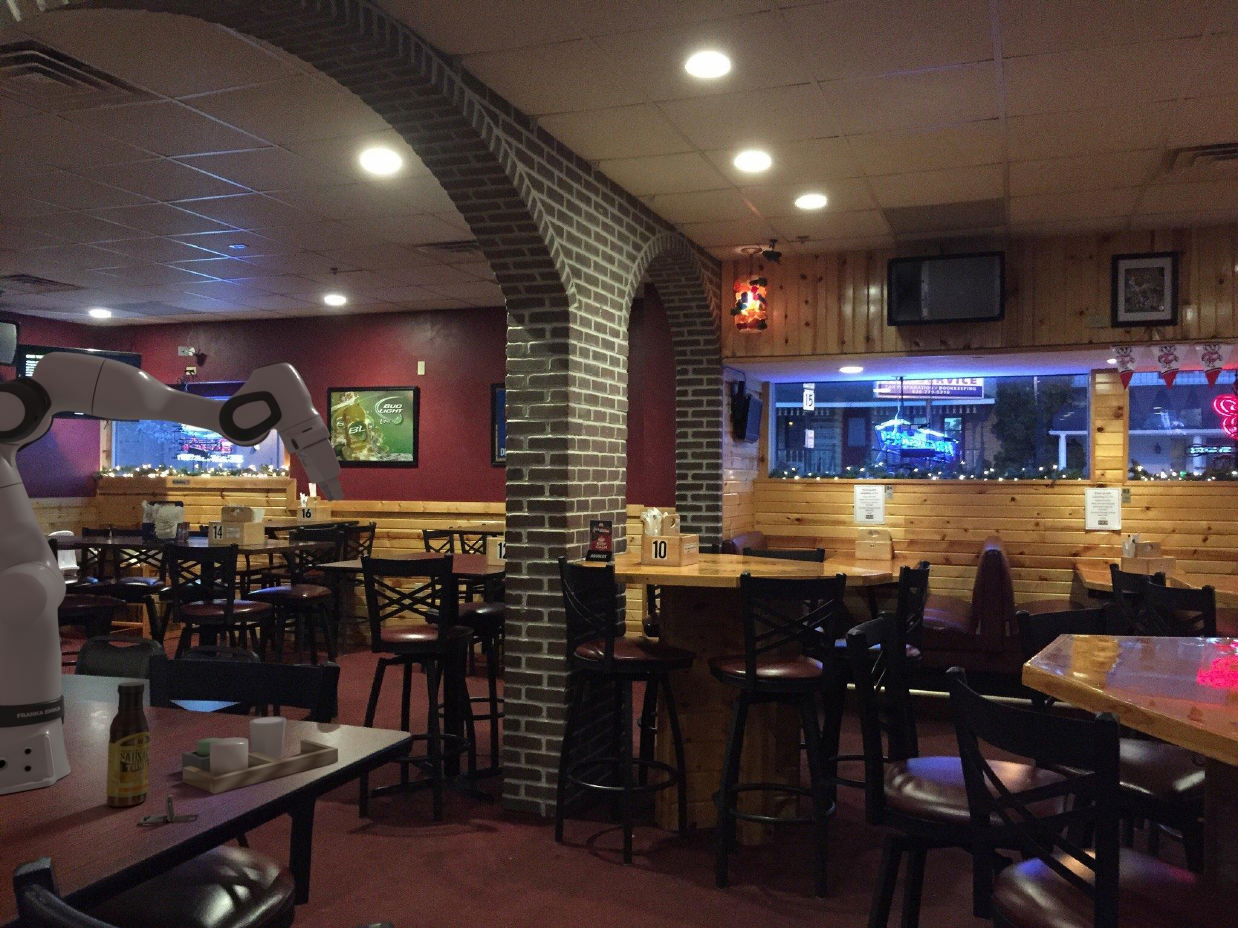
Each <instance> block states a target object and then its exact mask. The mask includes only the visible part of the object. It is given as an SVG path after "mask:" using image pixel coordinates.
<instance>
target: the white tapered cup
mask: <svg viewBox="0 0 1238 928" xmlns="http://www.w3.org/2000/svg"><path fill="white" fill-rule="evenodd" d="M286 723H287V718H286V717H284V716H278V715H277V716H275V715H273V716H272V715H271V716H262V717H256V718H254V719H251V720H249V732H250V742H251V752H253V751H255V752H259V753H262V754H265V755H268V756H272V757H275V758H277V757H278V758H280V757H282V756H283V755H284V745H285V736H286V735H285V734H286V727H287V726H286V725H287V724H286Z"/></svg>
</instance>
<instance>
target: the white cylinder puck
mask: <svg viewBox="0 0 1238 928" xmlns="http://www.w3.org/2000/svg"><path fill="white" fill-rule="evenodd" d="M248 752H249V739H248V738H245V737H236V736H235V737H226V738H225V737H224V738H221V739H219V740H215V741H213V742H211V743H210V773H212V774H215V775H218V776H219V775H223V774H227V773H231V772H235V771H239V770H243V769H247V768H248Z"/></svg>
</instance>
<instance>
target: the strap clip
mask: <svg viewBox="0 0 1238 928" xmlns="http://www.w3.org/2000/svg"><path fill="white" fill-rule="evenodd" d="M174 810H175V809H174V804H173V794H168V796H167V797H166V799H165V811H166V813H162V814H150V815H145V816H142V817H141V818H140V820H139V822H138V826H139V825H143V824H158V825H162V824H161V823H163V824H166V823H165V821H166V820H167V821H166V822H169V823H171V822H172V823H171V824H181V822H184V823H192V822H193V821H194V822H197V821H198V819H199V816H200V814H187V815H185V814H184V815H175V812H174ZM191 817H195V818H194V819H191ZM167 818H168V819H167ZM147 819H149V820H147ZM143 820H146V821H143ZM179 822H180V823H179Z"/></svg>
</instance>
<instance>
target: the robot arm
mask: <svg viewBox="0 0 1238 928" xmlns="http://www.w3.org/2000/svg"><path fill="white" fill-rule="evenodd" d="M60 412H74V413H75V412H76V413H80V414H84V415H88V416H94V417H98V418H105V419H109V420H110V419H112V420H113V419H114V420H122V421H166V422H172V423H175V424H181V425H186V426H190V427H194V428H199V429H204V430H208V431H211V432H214V433H216V434H218V435H220V436H221V437H223V438H224V439H225V440H226V441H228V442H230V443H231V444H233V445H235V446H238V447H243V448H251V447H254V446H257V445H260V444H262V443H263V442H264V441H265V440H266V439H267V438H268V437H269V436H270V433H272V430H275V431H276V432H277V433H278V436H279V438H280V439H281V442H282V443H283V445H284V448H285V450H286V452H287V454H288V455H291V454H293V453H294V454H295V455H296V457H297V459H298V460H300V463H301V465H302V467H303V470H304V472H305V474H306V476H307V478H308V480H309V482H310V483H311V484H313V485H314V484H317V485H318V487H319V489H320V490H321V492H322V493H323V494H324V496H325V498H326V501H327V502H329V503H330V502H334V501H337V502H338V501H340V500H343V499H344V498H345V495H344V492H343V490H342V487H341V484H340V483H341V482H340V479H338V476H340V475H341V474H342V470H341V466H340V463H339V460H338V458H337V454H336V452H335V449H334V448H333V446H332V443H331V440H330V439H329V438H330V437H331V433H330V431H329V429H328V427H327V426H326V424H325V422H324V420H323V418H322V416H321V414H320V413H319V411H318V410H317V408H315V405H314V404H313V400H312V395H311V393H310V391H309V388H307V386H306V384H305V381H304V380H303V378H302V376H301V374H300V373H299V372H298V371H297V369H296V368H295V366H294V365H292V364H290V363H289V362H287V361H286V362H285V361H276V362H271V363H268V364H264V365H260V366H258V367H256V368H255V369H253V370H252V373H251V374H250V376H249V378H248V379H247V380H246V382H245V383H244V384H243V385H242V386H241V387H240V389H238V390H237V391H236V392H235V393H233V395H232V396H230V397H229V398H228V399H227V400H219V399H213V398H210V397H205V396H203V395H202V396H201V395H197V394H193V393H189V392H186V391H181V390H178V389H175V388H173V387H170V386H168V385H167V384H165V383H163V382H162V381H160V380H158V379H157V378H156V377H154V376H153V375H152V374H150V373H148V372H147V371H145V370H143V369H141V368H138V367H136V366H133V365H131V364H127V363H125V362H122V361H119V360H116V359H111V358H106V357H102V356H98V355H93V354H92V355H91V354H86V353H85V354H84V353H78V352H67V351H65V352H64V351H52V352H49V353H46V354H45V355H43V356H41V358H40V359H39V360H38V361H37V363H36V364H35V366H34V369H33V371H32V375H31V377H29V376H22V377H21V376H20V377H17V378H13V379H9V380H5V381H4V380H3V381H0V795H5V794H11V793H17V792H22V791H23V792H24V791H30V790H34V789H39V788H46V787H49V786H53V785H54V784H55V783H56V782H57V781H58V780H60V779H61V778H65V776H68V774H70V773H71V771H72V768H71V765H70V762H69V759H68V755H67V751H66V746H65V745H66V744H65V740H64V739H65V738H64V731H63V726H64V723H65V715H66V711H65V710H66V709H65V708H66V707H65V706H66V705H65V697H64V695H63V694H62V656H63V655H62V650H61V649H62V648H61V643H60V642H61V641H60V633H59V619H58V618H59V616H58V614H59V613H58V609H59V606H61V604H62V602H63V601H64V600H65V596H66V591H67V584H66V581H65V578H64V576H63V572H62V570H61V568H60V566H59V564H58V561H57V558H56V556H55V555H54V552H53V550H52V548H51V547H50V544H49V542H48V540H47V538H46V536H45V535H44V532H43V530H42V528H41V526H40V523H39V522H38V519H37V517H36V514H35V511H34V509H33V506H32V503H31V501H30V497H29V495H28V493H27V491H26V487H25V485H24V483H23V479H22V477H21V475H20V472H19V470H18V466H17V462H16V454H17V453H19V452H22V451H23V450H25V449H26V448H28V447H29V446H31V445H32V444H34V443H36V442H38V441H40V440H41V439H42V438H44V437H45V436H46V435H47V433H49V432H50V430H51V428H52V426H53V423H54V420H55V414H57V413H60Z"/></svg>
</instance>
